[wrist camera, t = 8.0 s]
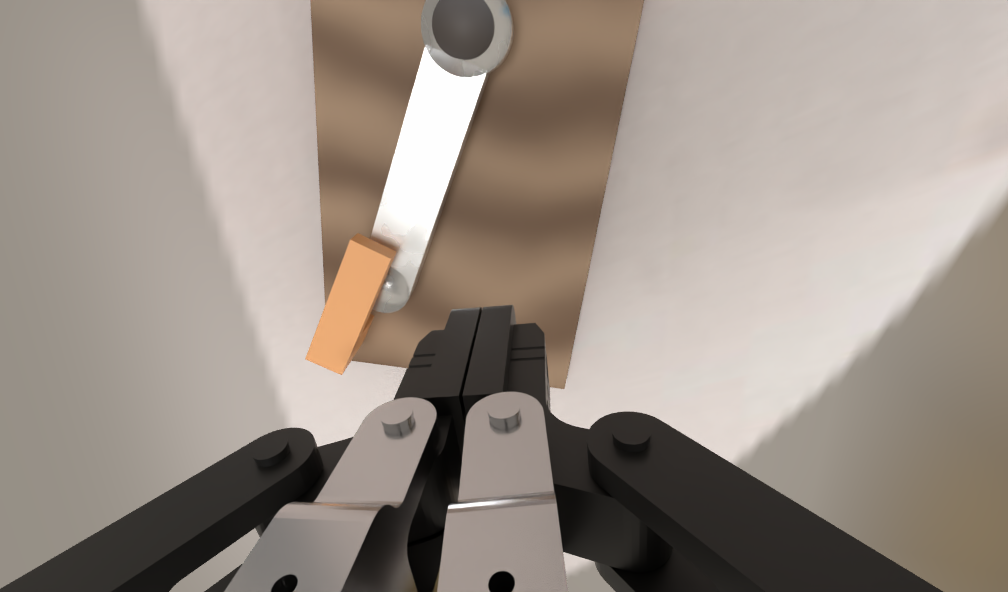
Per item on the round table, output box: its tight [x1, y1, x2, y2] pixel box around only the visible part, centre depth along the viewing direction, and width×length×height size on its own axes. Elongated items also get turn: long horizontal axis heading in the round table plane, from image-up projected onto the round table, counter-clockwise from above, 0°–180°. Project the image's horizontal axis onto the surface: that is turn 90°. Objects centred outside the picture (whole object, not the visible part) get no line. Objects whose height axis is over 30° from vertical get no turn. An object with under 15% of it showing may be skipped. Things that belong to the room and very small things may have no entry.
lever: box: [370, 0, 514, 313], centre depth 27 cm, size 19×4×2 cm, turn 158°
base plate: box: [311, 0, 644, 389], centre depth 28 cm, size 25×17×5 cm
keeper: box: [305, 233, 396, 375], centre depth 30 cm, size 9×2×4 cm, turn 153°
